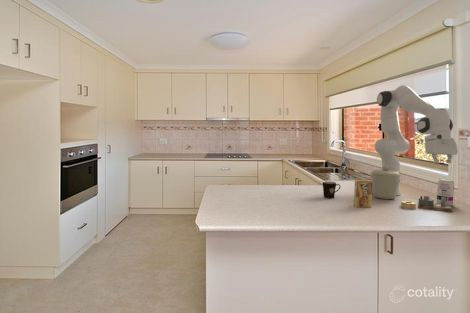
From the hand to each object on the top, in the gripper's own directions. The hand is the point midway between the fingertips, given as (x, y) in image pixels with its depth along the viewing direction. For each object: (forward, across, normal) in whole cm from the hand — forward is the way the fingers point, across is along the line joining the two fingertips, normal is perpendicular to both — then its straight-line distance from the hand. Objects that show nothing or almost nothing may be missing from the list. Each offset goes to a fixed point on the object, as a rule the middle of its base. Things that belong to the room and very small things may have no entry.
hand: (442, 162), depth 162 cm
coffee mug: (+20, +32, -53) cm, 65 cm away
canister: (+20, -2, -42) cm, 47 cm away
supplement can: (+24, -23, -17) cm, 37 cm away
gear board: (+25, -8, -12) cm, 29 cm away
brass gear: (+25, +6, -18) cm, 31 cm away
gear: (+23, -5, -15) cm, 28 cm away
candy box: (+24, +30, -28) cm, 47 cm away
